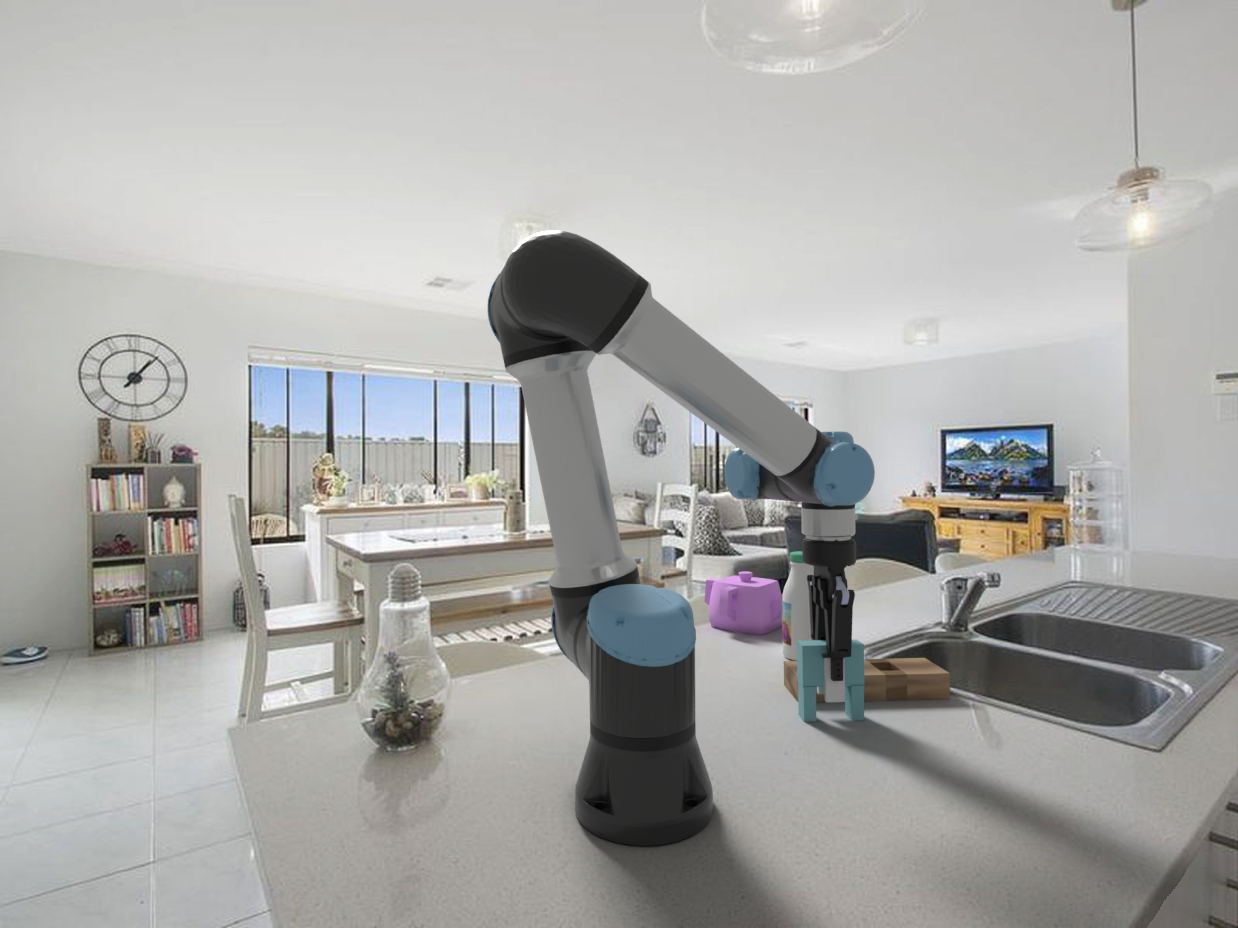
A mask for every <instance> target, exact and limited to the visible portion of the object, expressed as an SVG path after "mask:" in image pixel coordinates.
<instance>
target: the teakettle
mask: <svg viewBox="0 0 1238 928" xmlns="http://www.w3.org/2000/svg"><path fill="white" fill-rule="evenodd" d="M753 575H754V573H753V572H752V571H747V570H746V571H739V572H738V575H730V576H727V577H723V578H709V579H705V590H704V601H703V602H704V603H706V605H708V620H709V623H710V626H711V627H713V628H715V627H717V628H716V629H720V630H724V631H729V632H735V633H741V634H749V635H756V636H757V635H758V636H761V635H765V634H768V633H771V632H772V631H774V630H777V629H779V628H780V627H782V599H783V592H781V588H780V584H779V581H778V580H777V579H776V580H775V579H770V578H765V577H764V578H763V577H755V576H753Z"/></svg>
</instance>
